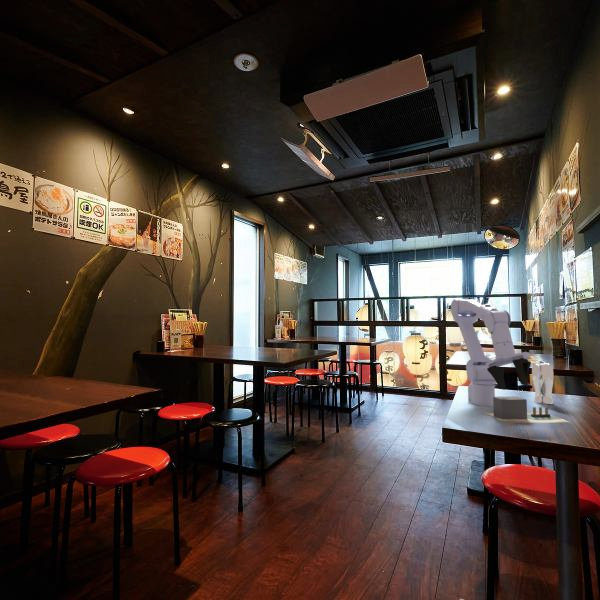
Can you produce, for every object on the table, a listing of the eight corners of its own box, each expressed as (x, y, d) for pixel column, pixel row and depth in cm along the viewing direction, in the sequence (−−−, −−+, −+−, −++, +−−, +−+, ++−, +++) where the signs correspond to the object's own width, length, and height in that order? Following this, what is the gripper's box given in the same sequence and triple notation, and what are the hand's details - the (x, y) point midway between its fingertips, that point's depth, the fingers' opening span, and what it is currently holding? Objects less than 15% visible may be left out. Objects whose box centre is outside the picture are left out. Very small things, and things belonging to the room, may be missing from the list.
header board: (484, 417, 118) (483, 403, 118) (542, 416, 119) (541, 402, 119) (507, 428, 106) (506, 412, 106) (571, 427, 107) (570, 412, 107)
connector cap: (493, 415, 114) (493, 396, 114) (517, 415, 114) (517, 396, 115) (502, 419, 110) (501, 399, 110) (527, 419, 110) (526, 399, 110)
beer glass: (556, 402, 138) (554, 363, 139) (552, 405, 133) (551, 365, 134) (534, 399, 143) (533, 362, 144) (531, 402, 138) (529, 363, 139)
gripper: (476, 349, 122) (484, 389, 116) (514, 336, 110) (525, 380, 104) (491, 352, 124) (500, 391, 118) (530, 340, 112) (542, 383, 106)
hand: (513, 386), depth 111 cm, fingers open, 7 cm apart
